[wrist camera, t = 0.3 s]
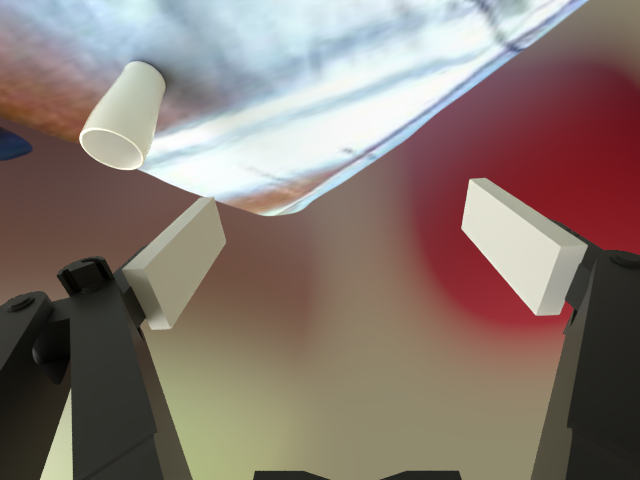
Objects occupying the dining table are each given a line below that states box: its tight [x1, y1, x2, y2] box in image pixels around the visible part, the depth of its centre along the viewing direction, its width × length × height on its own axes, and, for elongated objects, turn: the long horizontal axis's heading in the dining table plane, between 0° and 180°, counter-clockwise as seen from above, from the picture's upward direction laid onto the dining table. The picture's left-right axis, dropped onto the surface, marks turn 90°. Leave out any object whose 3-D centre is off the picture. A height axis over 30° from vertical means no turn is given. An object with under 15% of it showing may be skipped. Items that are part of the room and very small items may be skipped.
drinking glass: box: [80, 61, 166, 170], centre depth 39 cm, size 7×7×15 cm
